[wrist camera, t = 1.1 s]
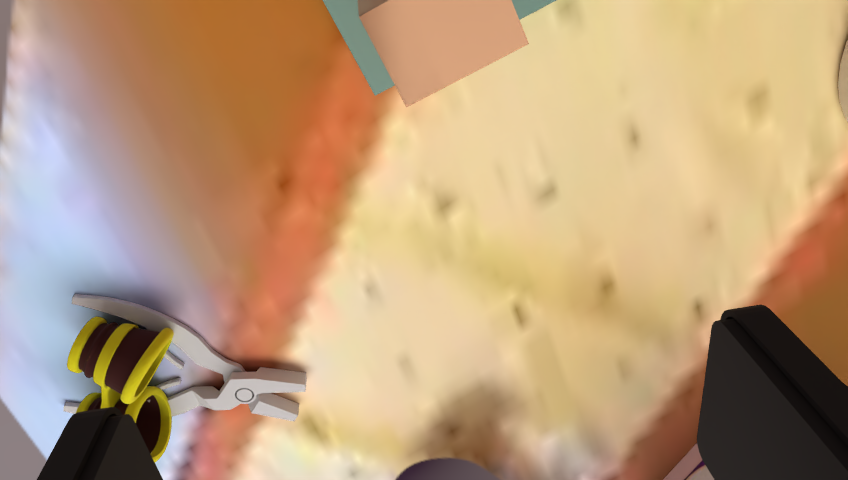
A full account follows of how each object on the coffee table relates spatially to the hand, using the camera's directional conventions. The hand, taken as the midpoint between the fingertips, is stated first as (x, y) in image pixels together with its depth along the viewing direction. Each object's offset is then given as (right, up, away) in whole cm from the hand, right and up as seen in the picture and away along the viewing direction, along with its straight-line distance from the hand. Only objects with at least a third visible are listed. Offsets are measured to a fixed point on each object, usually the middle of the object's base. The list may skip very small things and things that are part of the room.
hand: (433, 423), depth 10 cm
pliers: (-16, -6, +32) cm, 36 cm away
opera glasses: (-19, -5, +31) cm, 37 cm away
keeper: (0, +15, +21) cm, 25 cm away
